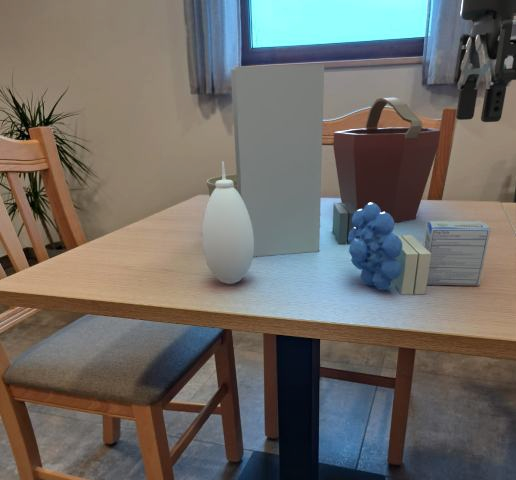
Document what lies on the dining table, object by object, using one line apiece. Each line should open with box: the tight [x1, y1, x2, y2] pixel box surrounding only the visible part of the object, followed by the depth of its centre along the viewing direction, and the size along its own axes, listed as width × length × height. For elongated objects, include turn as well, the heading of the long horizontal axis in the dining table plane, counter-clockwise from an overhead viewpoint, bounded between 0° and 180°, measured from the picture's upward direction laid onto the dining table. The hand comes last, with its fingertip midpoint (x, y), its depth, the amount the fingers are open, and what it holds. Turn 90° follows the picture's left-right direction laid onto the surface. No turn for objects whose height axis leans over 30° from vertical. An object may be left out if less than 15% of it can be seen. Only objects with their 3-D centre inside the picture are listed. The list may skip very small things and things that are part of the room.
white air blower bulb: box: [201, 160, 254, 285], centre depth 69 cm, size 8×8×18 cm
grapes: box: [348, 203, 403, 291], centre depth 67 cm, size 12×7×12 cm, turn 23°
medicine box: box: [424, 220, 491, 287], centre depth 68 cm, size 8×4×9 cm, turn 80°
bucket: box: [332, 97, 441, 224], centre depth 105 cm, size 24×22×25 cm
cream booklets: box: [392, 234, 431, 296], centre depth 69 cm, size 3×10×6 cm, turn 179°
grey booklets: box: [332, 202, 356, 245], centre depth 93 cm, size 3×10×6 cm, turn 179°
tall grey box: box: [230, 64, 325, 258], centre depth 81 cm, size 14×6×30 cm, turn 100°
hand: (476, 120), depth 62 cm, fingers open, 8 cm apart
